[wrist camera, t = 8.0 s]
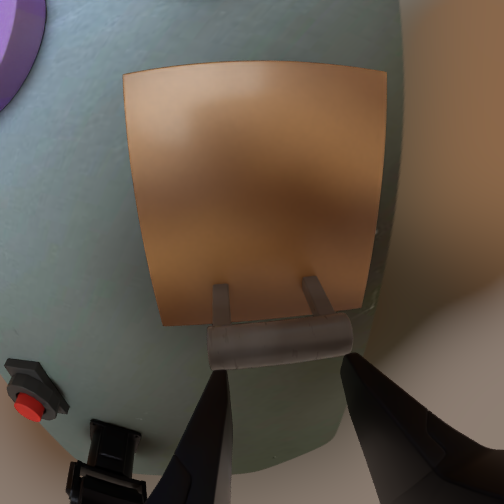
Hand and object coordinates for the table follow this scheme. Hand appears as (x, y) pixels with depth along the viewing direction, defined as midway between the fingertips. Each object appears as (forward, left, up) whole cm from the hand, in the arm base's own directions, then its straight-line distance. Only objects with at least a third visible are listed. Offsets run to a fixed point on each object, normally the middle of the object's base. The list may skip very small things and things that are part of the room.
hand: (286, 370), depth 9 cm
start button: (-26, +15, -9) cm, 31 cm away
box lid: (+3, +2, -6) cm, 7 cm away
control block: (-26, +15, -12) cm, 32 cm away
